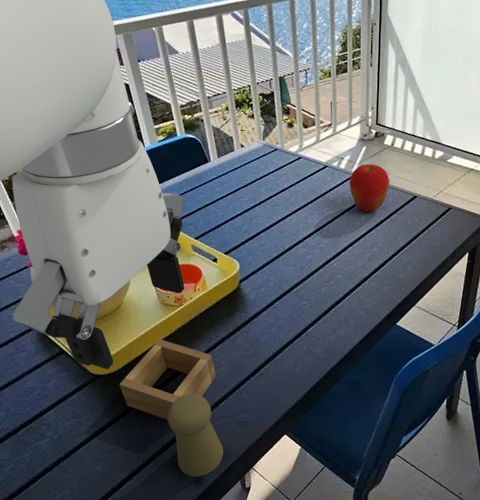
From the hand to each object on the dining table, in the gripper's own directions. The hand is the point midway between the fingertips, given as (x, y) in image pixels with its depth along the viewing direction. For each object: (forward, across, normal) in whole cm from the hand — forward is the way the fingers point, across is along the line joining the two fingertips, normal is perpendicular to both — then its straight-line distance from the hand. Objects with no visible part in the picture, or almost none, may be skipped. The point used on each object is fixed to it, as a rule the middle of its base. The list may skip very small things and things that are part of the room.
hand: (135, 322), depth 44 cm
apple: (+32, -76, -1) cm, 83 cm away
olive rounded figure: (+32, -6, -3) cm, 33 cm away
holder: (+32, -14, -13) cm, 37 cm away
